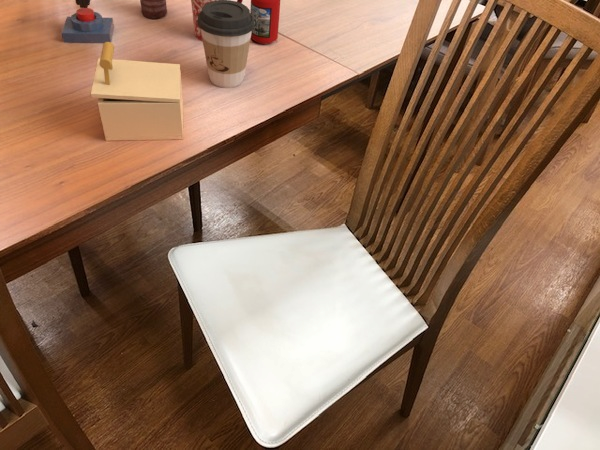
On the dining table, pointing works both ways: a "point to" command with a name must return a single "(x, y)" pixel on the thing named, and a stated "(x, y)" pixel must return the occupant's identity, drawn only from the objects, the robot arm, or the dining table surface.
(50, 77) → the dining table surface
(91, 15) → the button
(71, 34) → the button box
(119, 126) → the chest
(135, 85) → the lid
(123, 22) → the dining table surface
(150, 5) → the can
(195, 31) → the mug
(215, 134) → the dining table surface
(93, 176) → the dining table surface
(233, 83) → the coffee cup
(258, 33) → the beverage can
